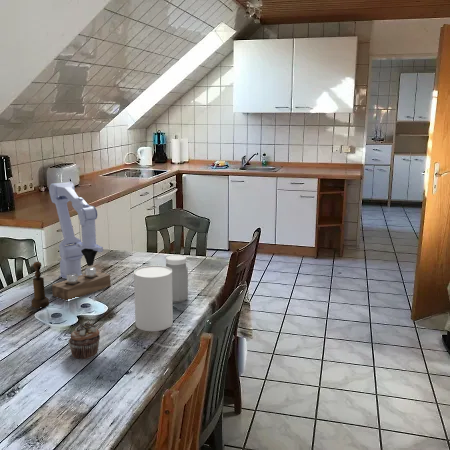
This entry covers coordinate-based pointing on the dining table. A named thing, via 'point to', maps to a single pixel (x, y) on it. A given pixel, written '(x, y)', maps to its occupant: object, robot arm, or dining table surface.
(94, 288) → the walnut frame
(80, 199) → the robot arm
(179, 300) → the jar
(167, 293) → the canister
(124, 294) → the dining table surface
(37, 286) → the dark brown tall piece
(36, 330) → the dining table surface
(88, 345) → the cupcake
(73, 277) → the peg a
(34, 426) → the dining table surface
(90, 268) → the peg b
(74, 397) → the dining table surface
